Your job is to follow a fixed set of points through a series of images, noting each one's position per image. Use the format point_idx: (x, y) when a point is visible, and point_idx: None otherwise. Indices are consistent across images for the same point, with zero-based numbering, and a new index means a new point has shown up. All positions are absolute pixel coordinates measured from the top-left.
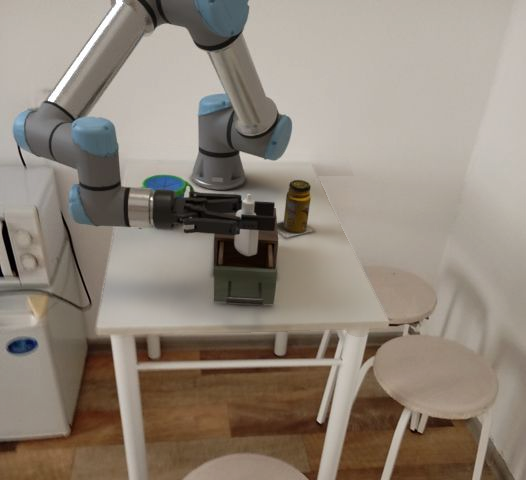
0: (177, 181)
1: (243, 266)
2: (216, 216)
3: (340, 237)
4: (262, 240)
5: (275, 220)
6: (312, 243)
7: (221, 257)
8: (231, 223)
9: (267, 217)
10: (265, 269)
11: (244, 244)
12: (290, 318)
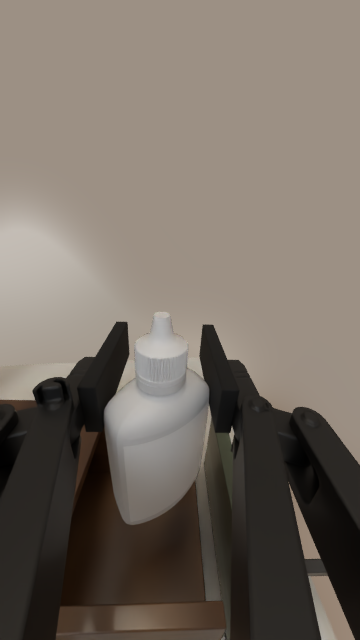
0: None
1: (76, 539)
2: (297, 547)
3: (26, 365)
4: (98, 434)
5: (8, 402)
6: (21, 395)
7: (175, 610)
8: (332, 429)
9: (216, 334)
10: (220, 436)
11: (196, 462)
12: (232, 440)
